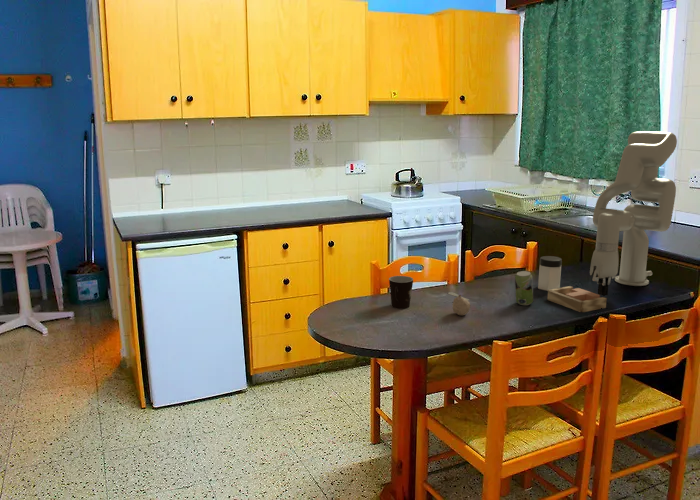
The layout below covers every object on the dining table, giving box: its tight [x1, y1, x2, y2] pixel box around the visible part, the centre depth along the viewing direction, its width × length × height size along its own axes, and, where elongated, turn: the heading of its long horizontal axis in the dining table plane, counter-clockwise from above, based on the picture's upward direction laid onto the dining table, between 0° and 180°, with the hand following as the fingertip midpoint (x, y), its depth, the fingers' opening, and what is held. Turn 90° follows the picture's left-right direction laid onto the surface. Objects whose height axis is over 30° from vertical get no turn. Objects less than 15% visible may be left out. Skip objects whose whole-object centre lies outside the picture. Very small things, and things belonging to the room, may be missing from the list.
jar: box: [537, 255, 563, 292], centre depth 250 cm, size 9×8×12 cm
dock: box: [546, 285, 608, 313], centre depth 232 cm, size 12×17×4 cm
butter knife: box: [447, 291, 470, 301], centre depth 236 cm, size 1×24×3 cm
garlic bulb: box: [451, 294, 471, 317], centre depth 220 cm, size 7×6×8 cm
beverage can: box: [514, 270, 534, 306], centre depth 231 cm, size 6×7×12 cm
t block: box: [565, 287, 601, 301], centre depth 233 cm, size 10×10×4 cm
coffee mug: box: [388, 275, 414, 310], centre depth 228 cm, size 12×9×10 cm
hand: (602, 294), depth 239 cm, fingers closed
